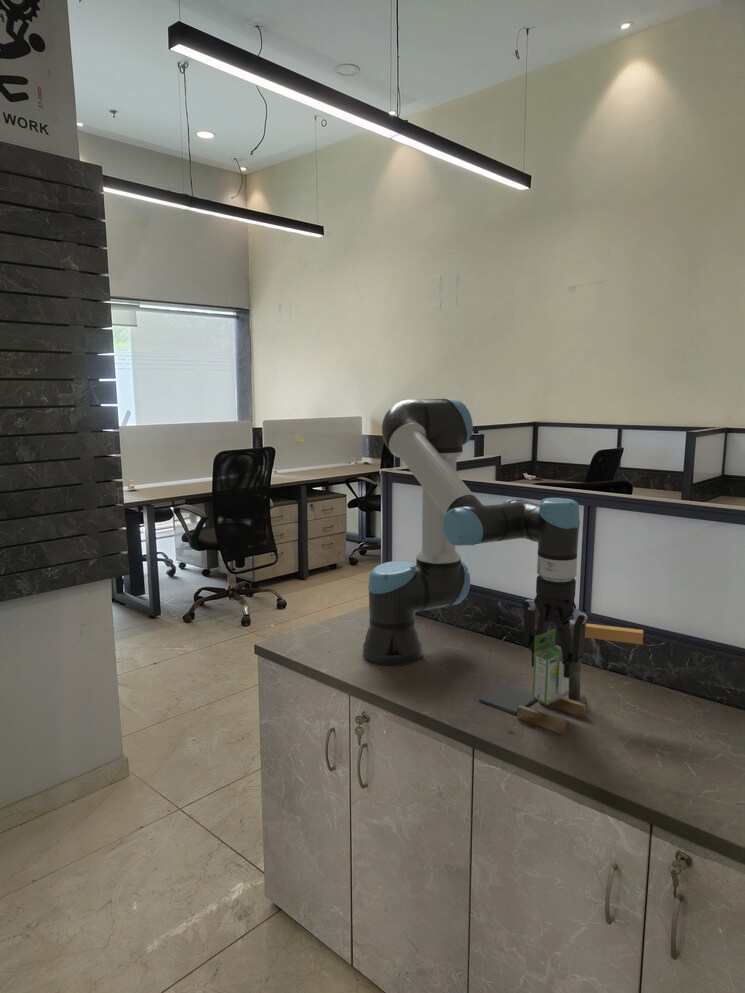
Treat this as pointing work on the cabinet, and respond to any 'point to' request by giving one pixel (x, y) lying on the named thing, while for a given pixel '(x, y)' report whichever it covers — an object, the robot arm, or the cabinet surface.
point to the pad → (508, 698)
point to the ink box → (547, 669)
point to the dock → (559, 705)
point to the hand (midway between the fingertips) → (550, 686)
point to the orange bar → (611, 633)
